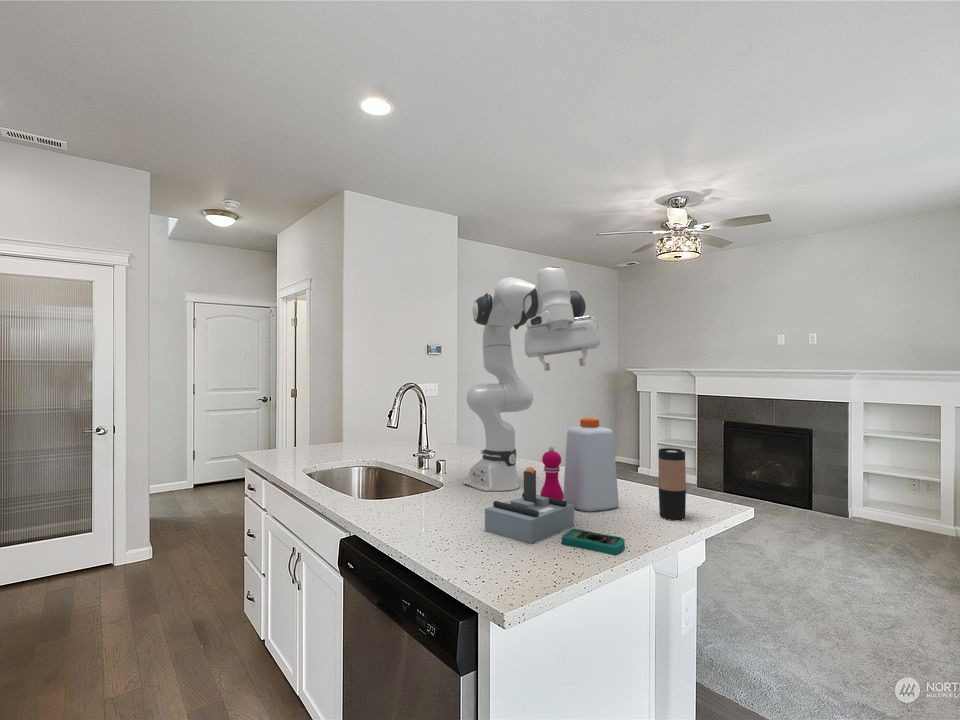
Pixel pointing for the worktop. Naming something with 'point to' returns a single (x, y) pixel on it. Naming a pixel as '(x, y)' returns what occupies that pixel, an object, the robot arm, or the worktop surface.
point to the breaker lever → (530, 485)
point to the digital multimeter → (594, 541)
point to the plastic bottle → (590, 467)
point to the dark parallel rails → (526, 510)
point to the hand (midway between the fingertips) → (564, 367)
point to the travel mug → (672, 483)
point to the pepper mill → (552, 475)
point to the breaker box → (529, 520)
